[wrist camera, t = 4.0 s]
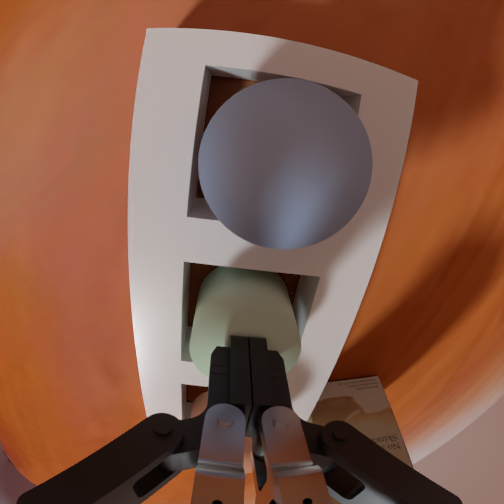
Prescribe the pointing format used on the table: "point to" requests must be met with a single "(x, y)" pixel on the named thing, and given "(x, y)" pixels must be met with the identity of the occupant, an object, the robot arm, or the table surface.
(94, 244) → the table surface
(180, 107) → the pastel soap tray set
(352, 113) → the blue button
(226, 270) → the green button
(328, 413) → the skincare box
